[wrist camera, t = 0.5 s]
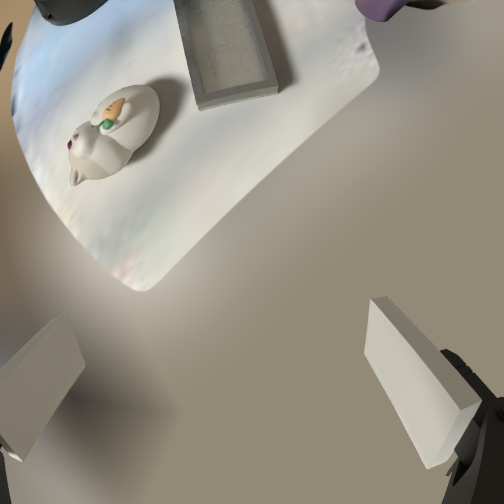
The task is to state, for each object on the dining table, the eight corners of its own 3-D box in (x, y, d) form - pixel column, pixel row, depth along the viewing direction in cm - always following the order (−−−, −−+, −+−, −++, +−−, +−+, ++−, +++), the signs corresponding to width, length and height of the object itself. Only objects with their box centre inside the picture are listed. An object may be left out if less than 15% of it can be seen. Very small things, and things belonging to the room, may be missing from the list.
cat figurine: (135, 65, 24) (43, 175, 25) (184, 114, 29) (96, 214, 30) (128, 71, 31) (55, 156, 32) (167, 108, 36) (97, 187, 37)
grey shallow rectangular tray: (174, -4, 28) (168, -17, 25) (242, -19, 28) (242, -34, 24) (199, 111, 34) (194, 104, 30) (277, 94, 33) (280, 85, 29)
